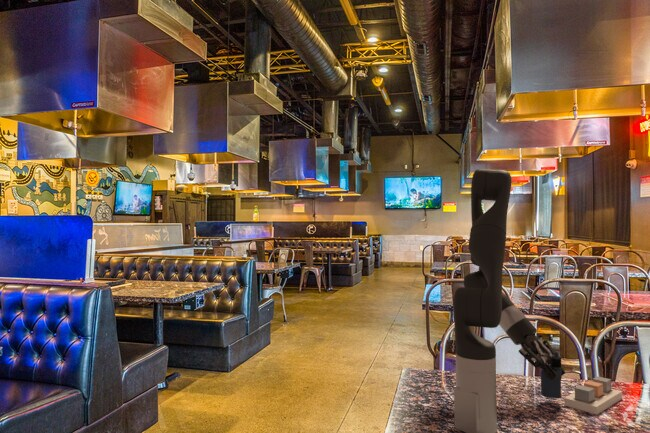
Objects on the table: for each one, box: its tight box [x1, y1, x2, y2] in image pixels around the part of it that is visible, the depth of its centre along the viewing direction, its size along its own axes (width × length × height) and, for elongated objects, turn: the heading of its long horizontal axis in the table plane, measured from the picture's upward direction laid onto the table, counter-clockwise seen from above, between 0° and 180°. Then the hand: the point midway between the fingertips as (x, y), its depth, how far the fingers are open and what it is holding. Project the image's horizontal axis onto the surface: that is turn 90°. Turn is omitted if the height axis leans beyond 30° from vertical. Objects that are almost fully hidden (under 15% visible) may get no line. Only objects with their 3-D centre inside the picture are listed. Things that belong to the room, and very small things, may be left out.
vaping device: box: [540, 351, 563, 399], centre depth 122 cm, size 3×5×12 cm, turn 79°
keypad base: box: [563, 388, 623, 415], centre depth 122 cm, size 18×8×2 cm, turn 129°
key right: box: [592, 375, 612, 392], centre depth 126 cm, size 4×4×3 cm
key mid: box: [583, 380, 603, 397], centre depth 122 cm, size 4×4×3 cm
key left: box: [574, 384, 595, 402], centre depth 118 cm, size 4×4×3 cm
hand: (558, 376), depth 120 cm, fingers closed on vaping device, 4 cm apart
